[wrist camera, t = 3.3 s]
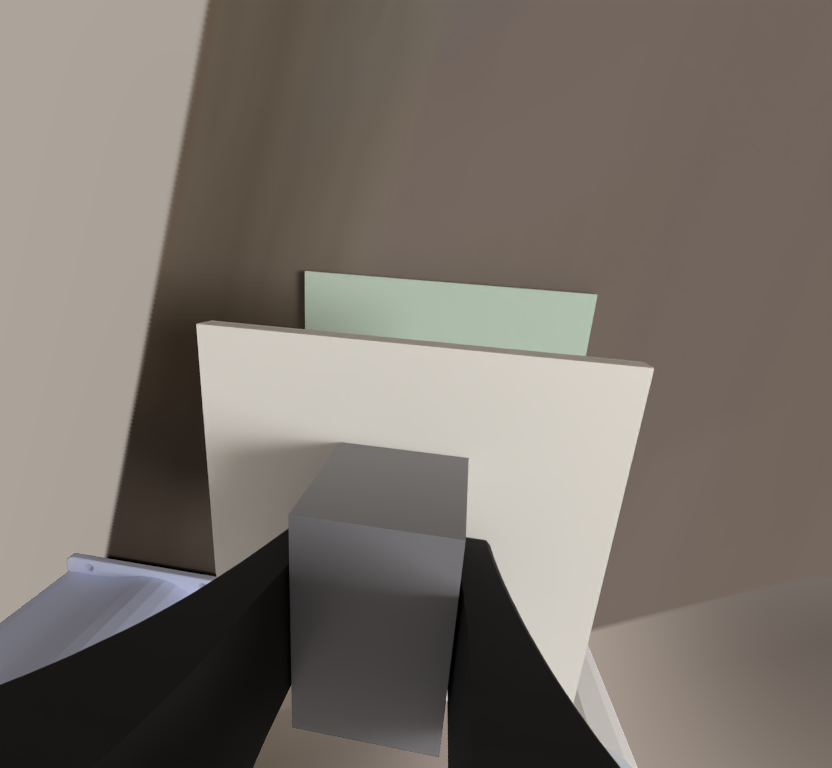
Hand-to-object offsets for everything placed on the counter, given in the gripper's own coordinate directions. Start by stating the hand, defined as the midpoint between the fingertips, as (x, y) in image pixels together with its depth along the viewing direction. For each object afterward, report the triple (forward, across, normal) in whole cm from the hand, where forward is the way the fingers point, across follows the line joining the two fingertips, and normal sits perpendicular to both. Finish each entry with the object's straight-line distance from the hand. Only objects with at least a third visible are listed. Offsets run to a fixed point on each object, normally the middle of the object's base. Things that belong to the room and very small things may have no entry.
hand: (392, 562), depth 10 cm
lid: (+1, 0, 0) cm, 1 cm away
